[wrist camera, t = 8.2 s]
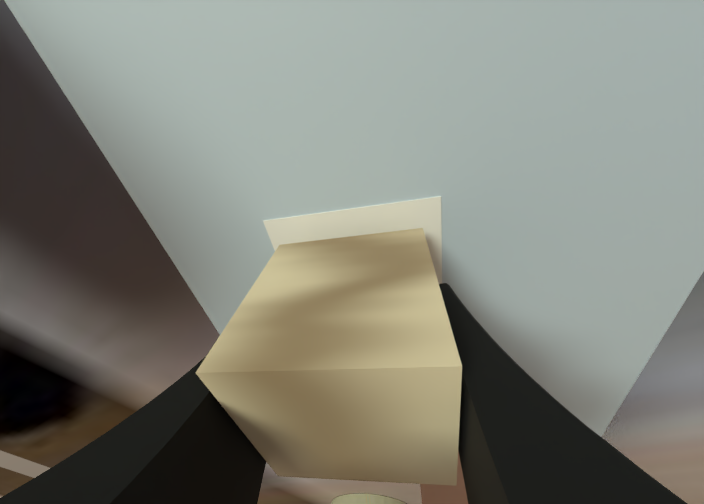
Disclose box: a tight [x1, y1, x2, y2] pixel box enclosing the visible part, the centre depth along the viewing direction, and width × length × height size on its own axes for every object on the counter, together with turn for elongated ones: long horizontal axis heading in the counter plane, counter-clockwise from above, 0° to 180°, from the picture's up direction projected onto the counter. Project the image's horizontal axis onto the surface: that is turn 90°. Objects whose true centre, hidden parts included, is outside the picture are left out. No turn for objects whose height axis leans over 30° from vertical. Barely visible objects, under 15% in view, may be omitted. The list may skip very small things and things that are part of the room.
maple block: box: [196, 228, 462, 486], centre depth 8 cm, size 5×5×5 cm
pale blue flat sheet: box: [4, 0, 704, 437], centre depth 11 cm, size 20×30×1 cm, turn 11°
